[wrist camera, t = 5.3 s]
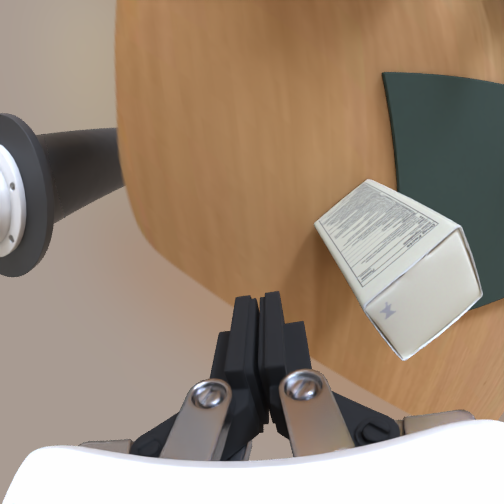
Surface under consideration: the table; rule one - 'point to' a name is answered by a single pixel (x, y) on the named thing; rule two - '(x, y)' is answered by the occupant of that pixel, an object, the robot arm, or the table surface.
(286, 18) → the table surface
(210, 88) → the table surface
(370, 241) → the printed medicine box
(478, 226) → the mat
